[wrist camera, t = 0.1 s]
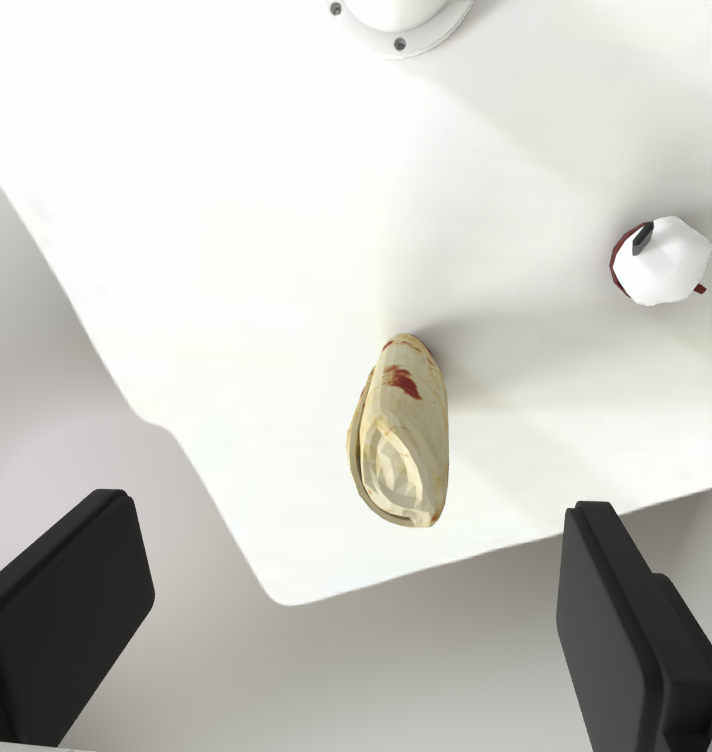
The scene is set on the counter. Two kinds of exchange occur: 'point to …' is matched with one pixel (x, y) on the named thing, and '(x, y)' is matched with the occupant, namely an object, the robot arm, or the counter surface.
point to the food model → (402, 436)
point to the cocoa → (660, 261)
